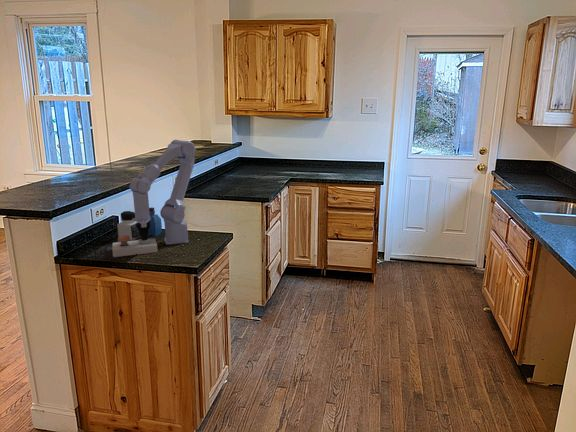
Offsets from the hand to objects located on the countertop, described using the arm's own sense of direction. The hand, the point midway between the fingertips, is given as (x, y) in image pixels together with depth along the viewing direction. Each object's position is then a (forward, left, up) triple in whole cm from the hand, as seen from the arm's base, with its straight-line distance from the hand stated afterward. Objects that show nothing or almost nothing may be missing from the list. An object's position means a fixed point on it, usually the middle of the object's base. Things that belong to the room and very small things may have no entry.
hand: (144, 239), depth 188 cm
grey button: (0, 0, -4) cm, 4 cm away
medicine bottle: (+5, -20, -5) cm, 21 cm away
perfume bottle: (-5, -23, -5) cm, 24 cm away
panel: (+4, 0, -4) cm, 6 cm away
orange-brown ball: (+8, 0, -2) cm, 8 cm away
